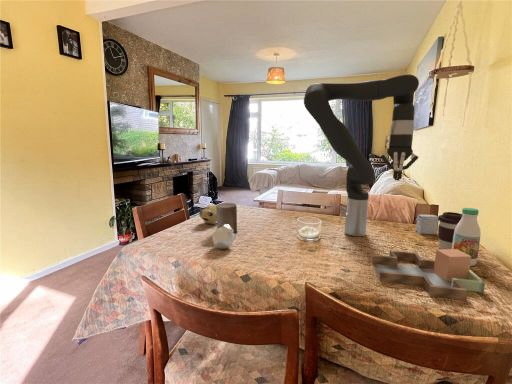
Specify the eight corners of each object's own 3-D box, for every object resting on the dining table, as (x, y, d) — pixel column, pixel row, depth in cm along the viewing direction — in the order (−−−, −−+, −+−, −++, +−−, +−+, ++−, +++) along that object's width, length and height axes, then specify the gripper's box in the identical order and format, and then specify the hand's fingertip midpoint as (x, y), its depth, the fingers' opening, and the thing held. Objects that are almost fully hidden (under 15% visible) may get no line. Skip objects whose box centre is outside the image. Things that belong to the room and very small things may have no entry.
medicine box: (432, 231, 137) (434, 214, 136) (437, 234, 133) (439, 217, 131) (415, 231, 138) (417, 214, 136) (419, 234, 133) (421, 216, 132)
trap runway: (383, 292, 82) (384, 281, 81) (369, 257, 107) (369, 248, 106) (495, 305, 75) (497, 293, 75) (452, 264, 100) (453, 255, 100)
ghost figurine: (235, 251, 112) (235, 227, 110) (211, 252, 111) (211, 228, 109) (235, 243, 121) (235, 221, 119) (213, 244, 120) (212, 221, 118)
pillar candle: (240, 231, 138) (240, 201, 135) (230, 237, 129) (230, 205, 126) (223, 228, 142) (222, 199, 139) (213, 234, 133) (211, 203, 130)
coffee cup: (459, 246, 118) (463, 212, 115) (467, 255, 108) (473, 218, 106) (431, 243, 121) (435, 210, 118) (438, 252, 112) (442, 215, 109)
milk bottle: (445, 258, 106) (452, 206, 103) (464, 257, 107) (471, 206, 103) (461, 266, 99) (469, 211, 95) (482, 266, 99) (490, 211, 96)
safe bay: (452, 290, 83) (453, 279, 82) (434, 269, 96) (435, 260, 96) (483, 293, 81) (485, 282, 81) (460, 272, 95) (461, 262, 94)
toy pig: (196, 225, 146) (195, 206, 144) (208, 220, 157) (207, 201, 155) (212, 228, 142) (212, 207, 140) (223, 221, 153) (223, 202, 152)
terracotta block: (446, 281, 88) (449, 256, 86) (433, 272, 93) (436, 249, 92) (467, 280, 88) (471, 256, 86) (453, 271, 94) (456, 249, 92)
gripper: (381, 133, 103) (377, 180, 106) (422, 133, 97) (417, 182, 100) (382, 134, 109) (379, 178, 112) (421, 133, 103) (416, 180, 106)
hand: (397, 180), depth 106 cm, fingers closed
